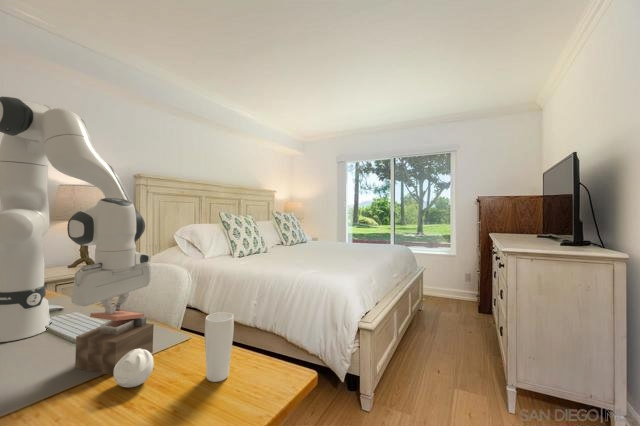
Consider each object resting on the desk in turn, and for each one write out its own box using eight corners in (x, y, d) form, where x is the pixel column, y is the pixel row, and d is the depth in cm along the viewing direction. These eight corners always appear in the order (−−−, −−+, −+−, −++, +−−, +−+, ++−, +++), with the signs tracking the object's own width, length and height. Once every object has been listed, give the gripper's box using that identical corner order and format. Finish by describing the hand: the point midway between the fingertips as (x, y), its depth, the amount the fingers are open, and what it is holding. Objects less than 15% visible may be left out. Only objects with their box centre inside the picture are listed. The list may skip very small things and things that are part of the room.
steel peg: (99, 359, 76) (100, 324, 76) (116, 350, 81) (117, 317, 81) (115, 362, 75) (116, 327, 75) (132, 352, 80) (133, 320, 80)
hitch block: (75, 368, 73) (76, 328, 73) (117, 346, 85) (118, 312, 85) (114, 375, 71) (116, 334, 71) (152, 352, 83) (153, 317, 83)
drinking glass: (204, 387, 67) (206, 323, 67) (201, 372, 73) (203, 313, 73) (234, 381, 71) (236, 319, 70) (229, 367, 77) (231, 310, 76)
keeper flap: (119, 314, 83) (120, 310, 83) (143, 317, 81) (144, 313, 82) (89, 317, 74) (90, 313, 75) (115, 320, 73) (116, 316, 73)
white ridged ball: (105, 392, 65) (106, 357, 65) (131, 373, 72) (132, 342, 72) (137, 396, 64) (138, 361, 63) (161, 377, 71) (162, 345, 71)
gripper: (86, 268, 66) (85, 329, 66) (155, 254, 86) (154, 301, 86) (64, 266, 67) (63, 326, 67) (137, 253, 87) (136, 299, 87)
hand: (115, 312), depth 77 cm, fingers closed
